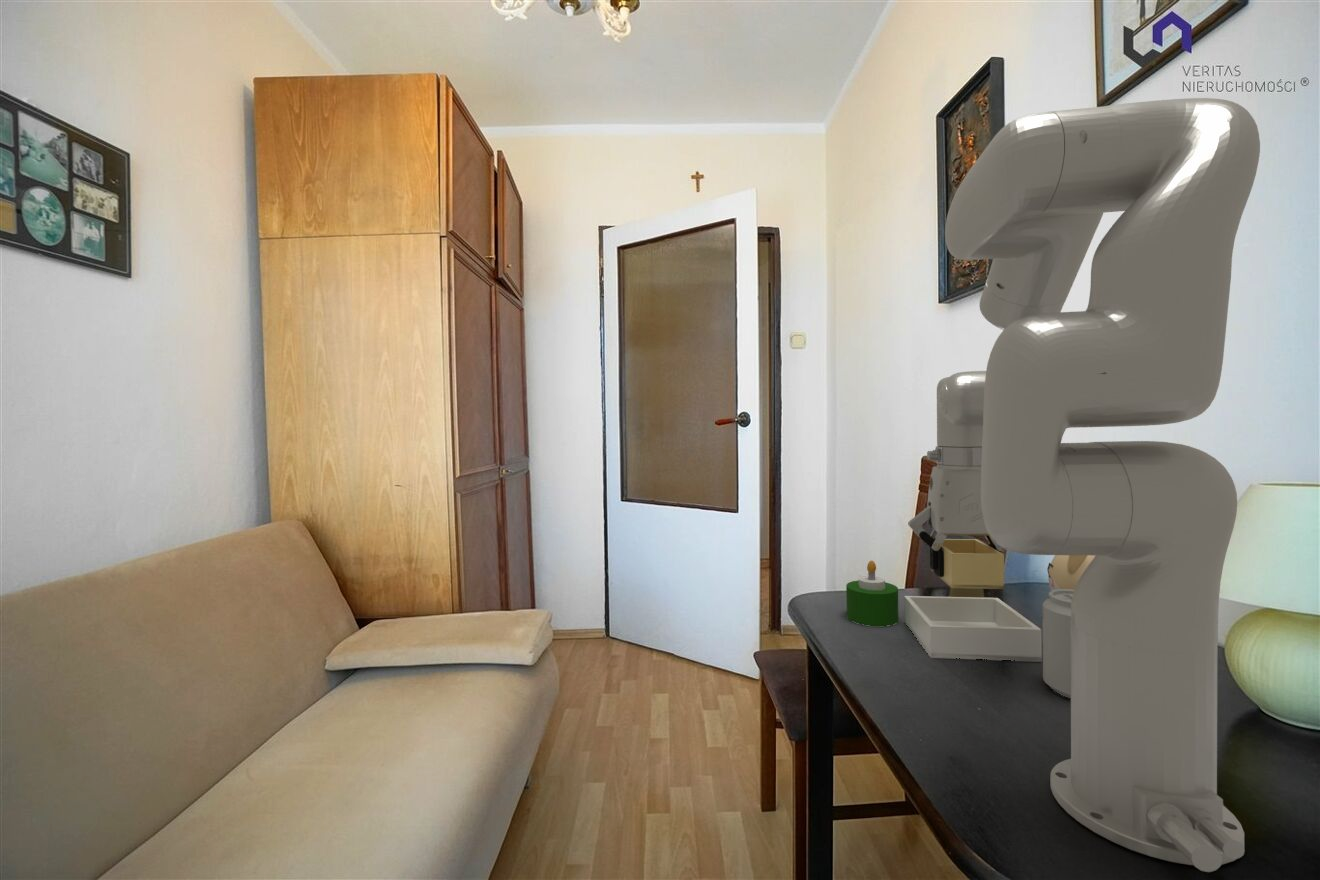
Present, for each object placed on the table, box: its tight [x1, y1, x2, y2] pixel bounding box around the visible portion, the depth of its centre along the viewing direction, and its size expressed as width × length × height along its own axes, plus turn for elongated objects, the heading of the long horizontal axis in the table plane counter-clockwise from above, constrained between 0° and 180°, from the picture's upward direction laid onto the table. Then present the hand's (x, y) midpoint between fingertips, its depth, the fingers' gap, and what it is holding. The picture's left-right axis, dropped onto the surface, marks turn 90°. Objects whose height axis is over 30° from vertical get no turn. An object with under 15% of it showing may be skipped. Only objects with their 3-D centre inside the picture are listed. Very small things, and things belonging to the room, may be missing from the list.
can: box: [1042, 589, 1074, 699], centre depth 71 cm, size 8×8×12 cm
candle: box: [845, 560, 899, 626], centre depth 98 cm, size 8×8×10 cm
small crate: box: [930, 538, 1005, 590], centre depth 88 cm, size 10×7×5 cm
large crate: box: [903, 595, 1043, 663], centre depth 88 cm, size 14×14×4 cm
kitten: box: [1046, 555, 1096, 591], centre depth 91 cm, size 15×10×15 cm
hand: (965, 574), depth 88 cm, fingers closed on small crate, 7 cm apart
